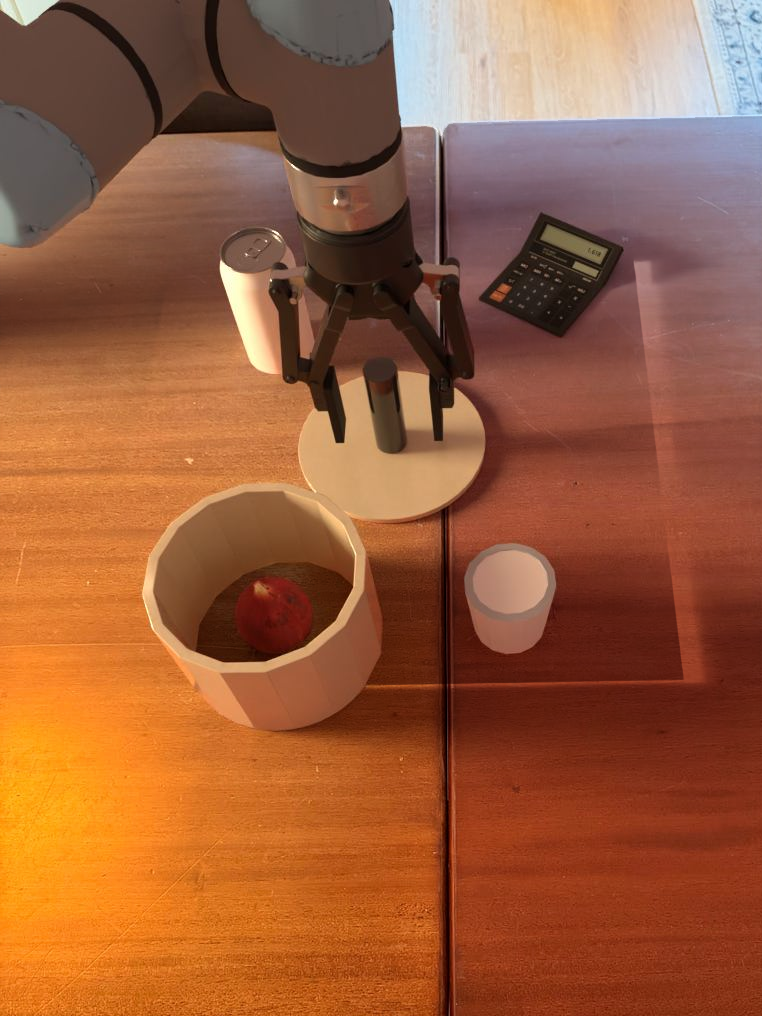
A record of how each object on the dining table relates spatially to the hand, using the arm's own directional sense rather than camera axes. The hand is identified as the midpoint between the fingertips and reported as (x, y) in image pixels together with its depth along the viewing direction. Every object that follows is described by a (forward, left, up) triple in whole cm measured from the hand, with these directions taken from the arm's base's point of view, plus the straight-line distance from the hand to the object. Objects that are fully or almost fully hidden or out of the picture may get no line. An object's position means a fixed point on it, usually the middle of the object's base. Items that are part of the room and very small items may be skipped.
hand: (389, 429), depth 81 cm
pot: (-8, -19, -3) cm, 21 cm away
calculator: (+15, +20, -3) cm, 25 cm away
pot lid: (0, 0, -2) cm, 2 cm away
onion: (-8, -19, -3) cm, 21 cm away
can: (-11, +12, -3) cm, 17 cm away
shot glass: (+10, -18, -3) cm, 21 cm away
